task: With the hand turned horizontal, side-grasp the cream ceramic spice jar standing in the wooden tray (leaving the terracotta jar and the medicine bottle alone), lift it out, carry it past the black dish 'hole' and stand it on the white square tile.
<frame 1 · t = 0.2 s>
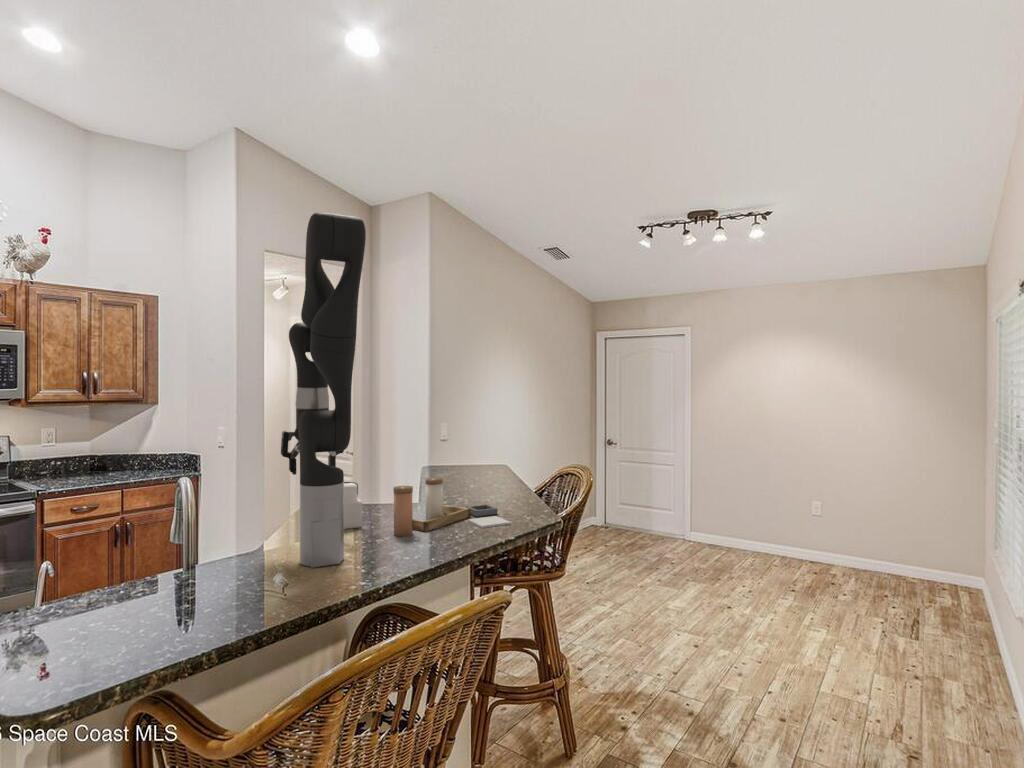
hand: (312, 472, 140), 18 cm above the worktop, tool pointing down, fingers open, 8 cm apart
terracotta jar: (403, 533, 151), on the worktop
medicine bottle: (346, 526, 160), on the worktop
spice jar: (434, 500, 165), in the wooden tray
white square tile: (488, 522, 163), on the worktop
hole dish: (481, 514, 174), on the worktop
wooden tray: (434, 521, 165), on the worktop
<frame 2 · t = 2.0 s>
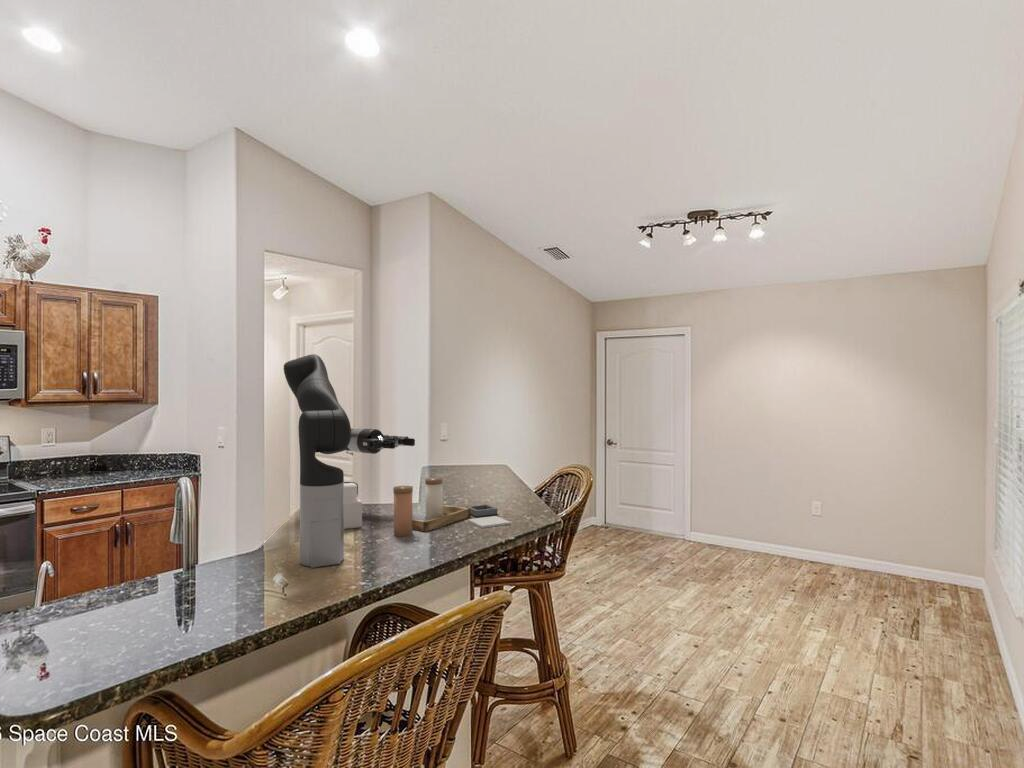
hand: (404, 443, 171), 22 cm above the worktop, tool horizontal, fingers open, 8 cm apart
nothing on the worktop moved.
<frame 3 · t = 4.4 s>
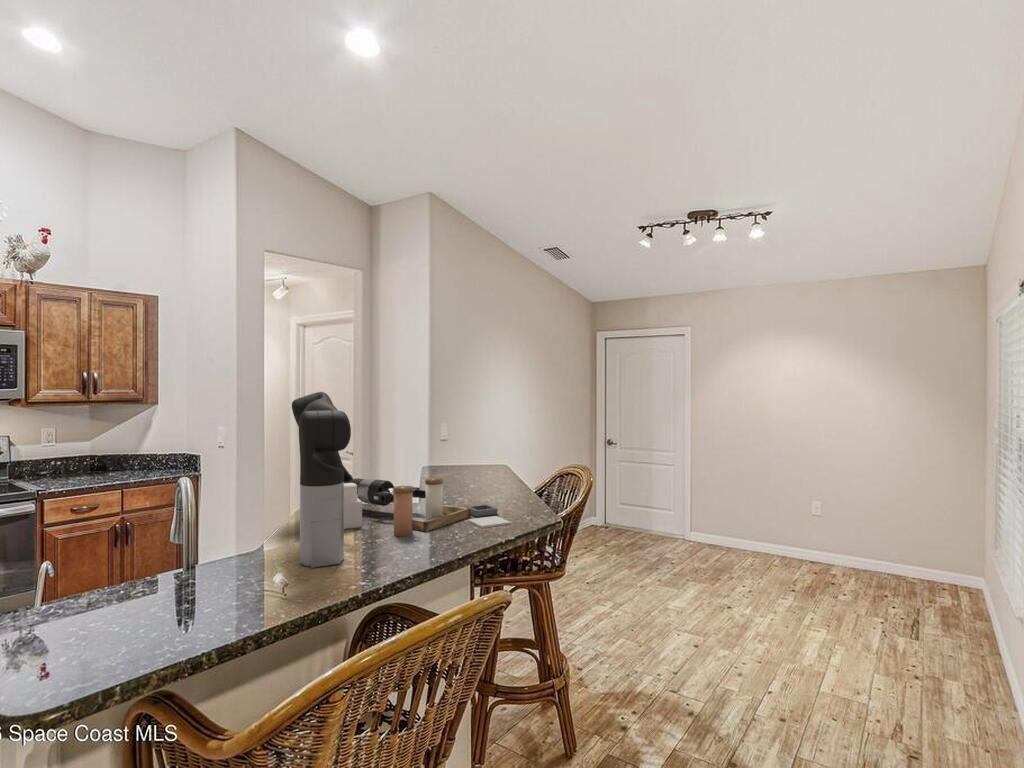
hand: (416, 496, 168), 6 cm above the worktop, tool horizontal, fingers open, 8 cm apart
nothing on the worktop moved.
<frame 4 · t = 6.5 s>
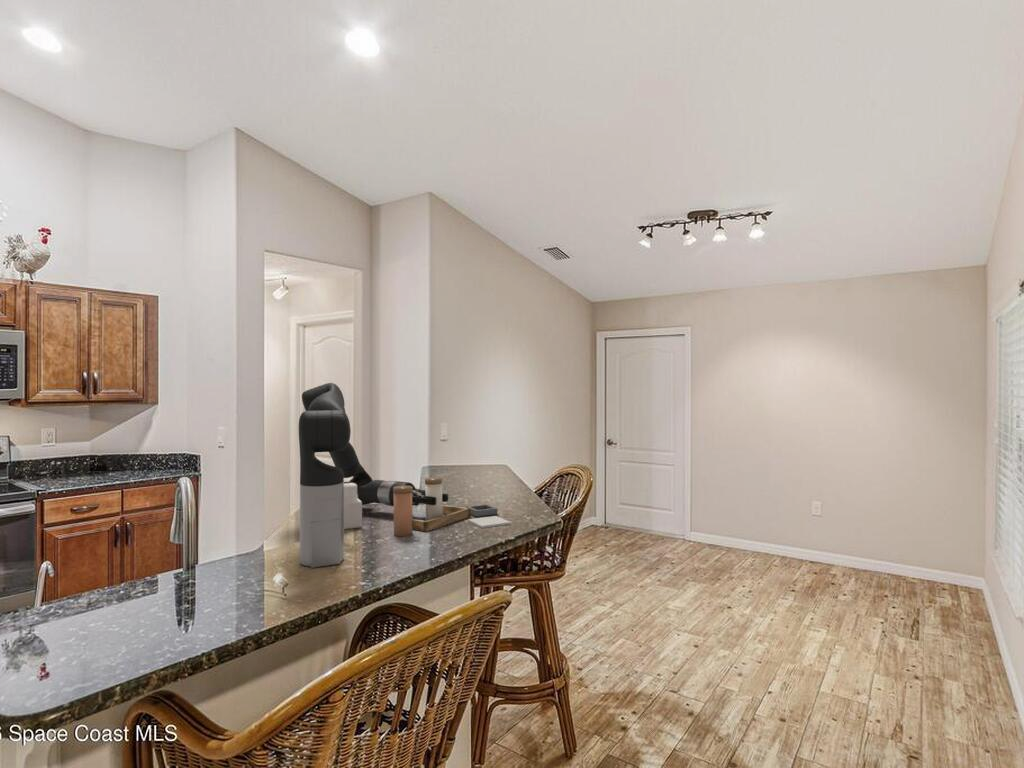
hand: (441, 499, 163), 7 cm above the worktop, tool horizontal, fingers closed on spice jar, 4 cm apart
spice jar: (433, 500, 165), in the wooden tray, touching gripper
everything else where it was.
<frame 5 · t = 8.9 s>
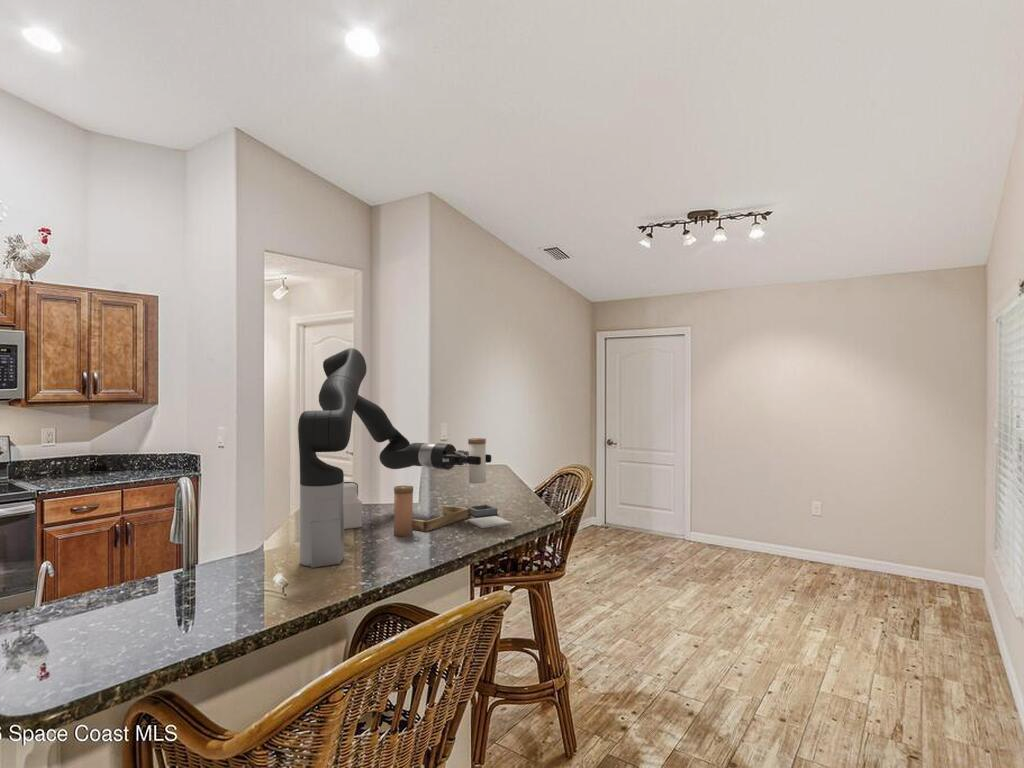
hand: (485, 459, 162), 18 cm above the worktop, tool horizontal, fingers closed on spice jar, 4 cm apart
spice jar: (477, 460, 164), point 18 cm above the worktop, touching gripper
everything else where it was.
when the fingers open (8 cm above the worktop, at t = 11.4 s): spice jar drops 1 cm, resting on white square tile.
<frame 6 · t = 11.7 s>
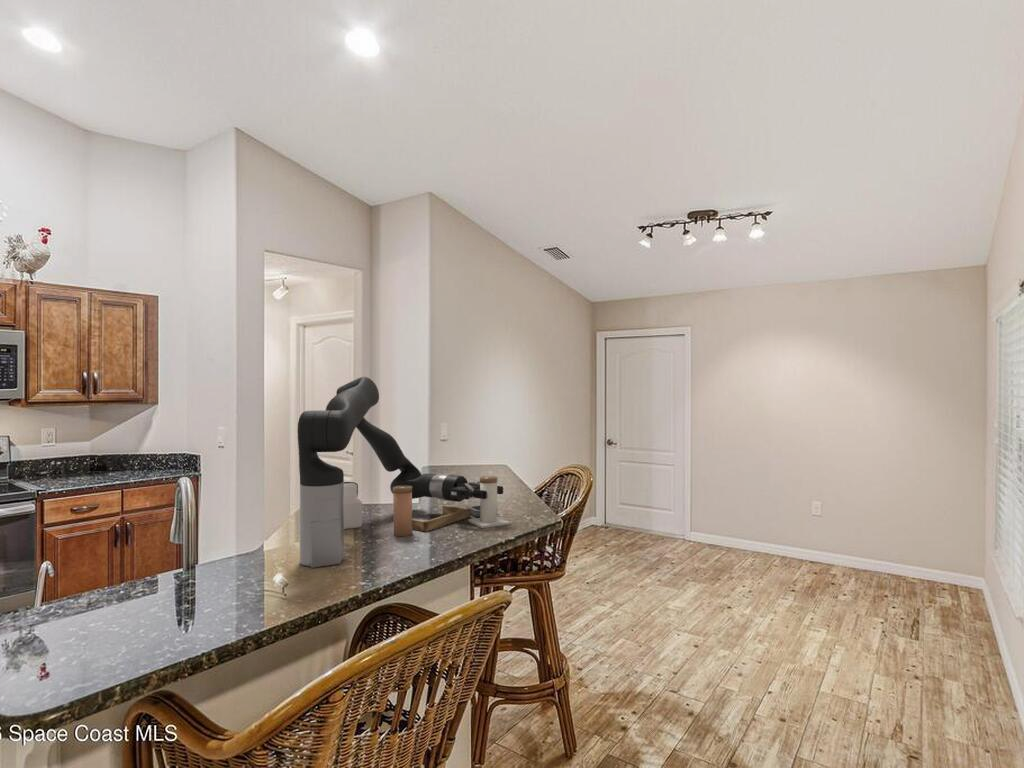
hand: (494, 492, 162), 9 cm above the worktop, tool horizontal, fingers open, 8 cm apart
spice jar: (488, 499, 163), on the white square tile, point 7 cm above the worktop
everything else where it was.
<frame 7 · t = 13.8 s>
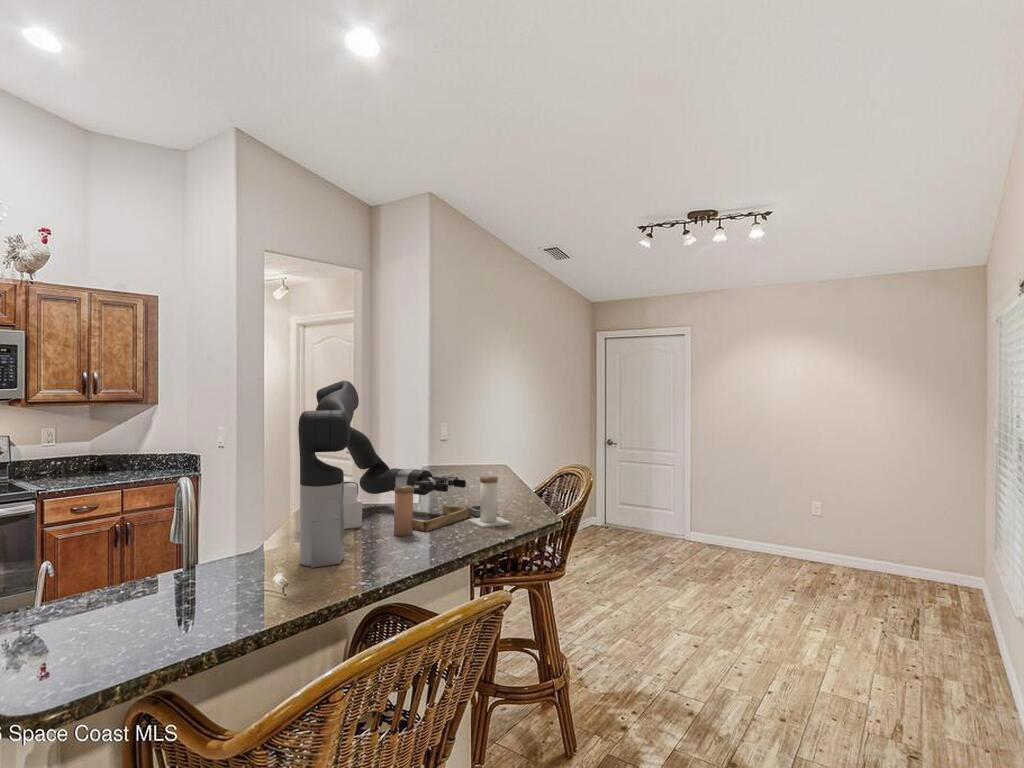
hand: (456, 485, 168), 10 cm above the worktop, tool horizontal, fingers open, 8 cm apart
nothing on the worktop moved.
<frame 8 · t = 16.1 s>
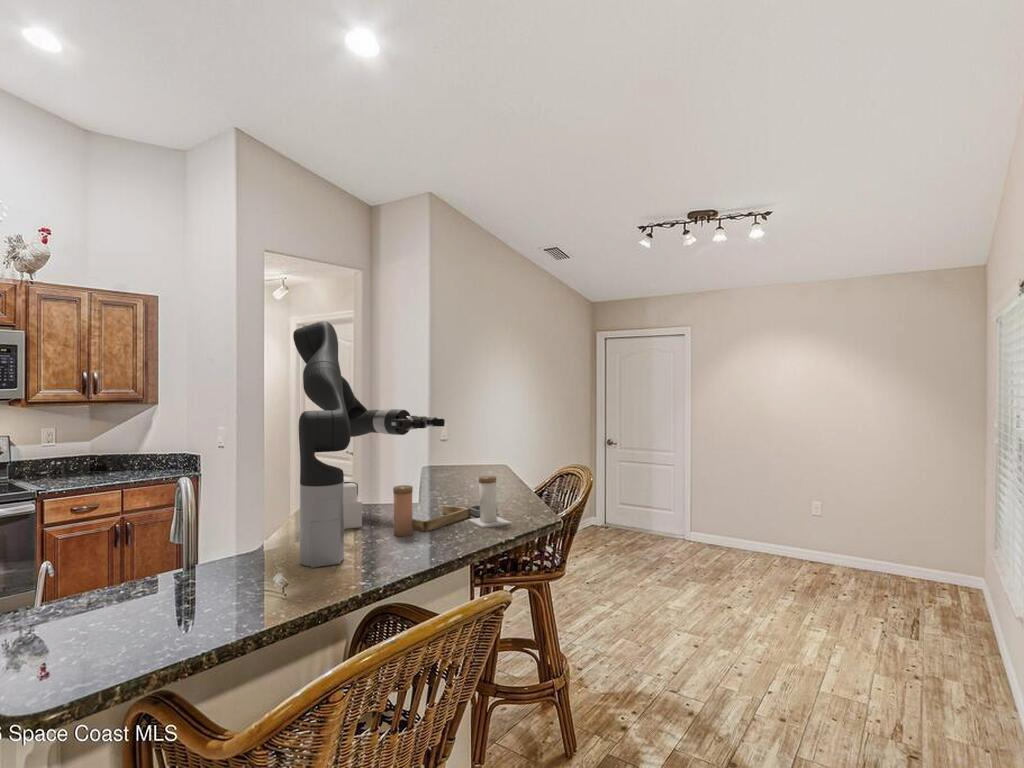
hand: (434, 423, 164), 28 cm above the worktop, tool horizontal, fingers open, 8 cm apart
nothing on the worktop moved.
at the end: spice jar inside the target area on the white square tile (0.1 cm from its centre), point 6.8 cm above the white square tile's base; spice jar tilted 2°; the gripper is holding nothing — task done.
